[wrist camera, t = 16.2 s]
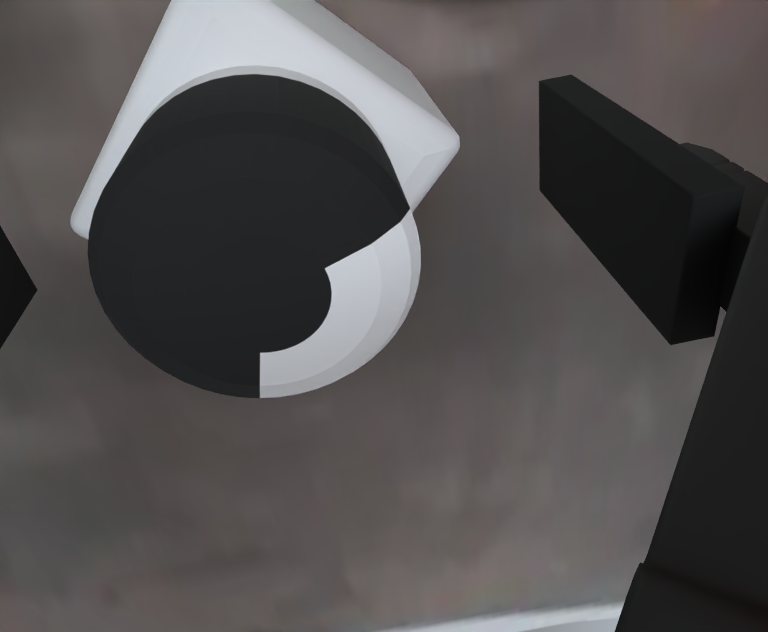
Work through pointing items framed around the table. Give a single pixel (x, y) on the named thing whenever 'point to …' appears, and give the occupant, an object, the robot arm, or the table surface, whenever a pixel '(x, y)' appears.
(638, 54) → the table surface
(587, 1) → the table surface
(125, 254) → the medicine bottle
